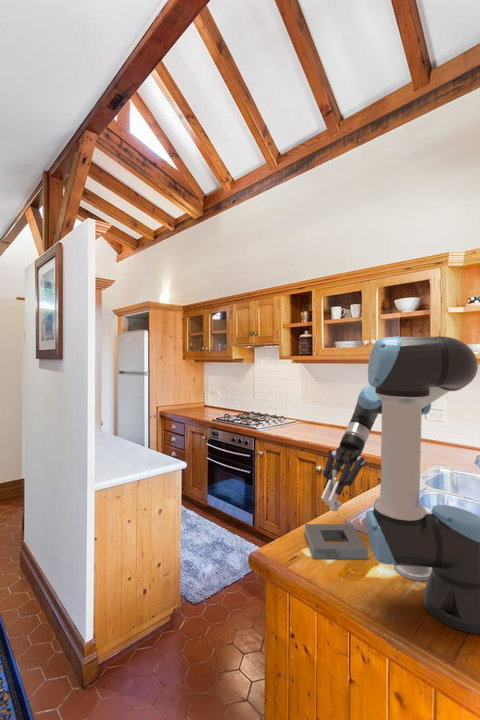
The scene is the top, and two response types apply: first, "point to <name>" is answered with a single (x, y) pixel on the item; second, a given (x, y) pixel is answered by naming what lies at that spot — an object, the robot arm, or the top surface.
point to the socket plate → (335, 550)
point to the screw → (334, 479)
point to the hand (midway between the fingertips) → (327, 501)
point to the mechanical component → (414, 572)
